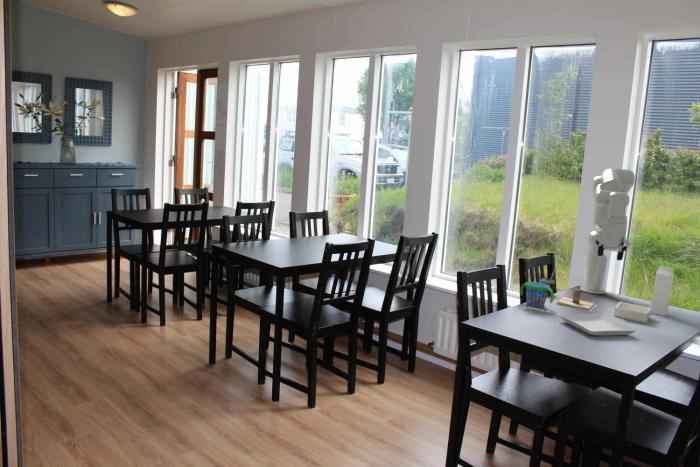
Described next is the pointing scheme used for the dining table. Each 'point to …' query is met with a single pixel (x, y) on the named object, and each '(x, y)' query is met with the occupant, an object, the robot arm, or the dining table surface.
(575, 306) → the lid
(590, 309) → the mat
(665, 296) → the milk
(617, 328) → the salad plate
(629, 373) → the dining table surface
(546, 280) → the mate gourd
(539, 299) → the snack cup
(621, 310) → the cream square dish
